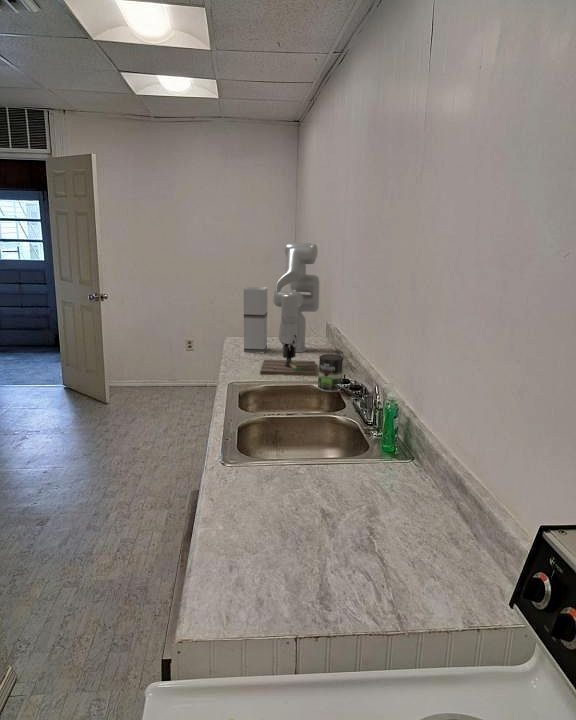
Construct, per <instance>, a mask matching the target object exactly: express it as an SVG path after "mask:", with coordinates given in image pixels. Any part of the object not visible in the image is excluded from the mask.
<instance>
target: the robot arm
mask: <svg viewBox="0 0 576 720" xmlns="http://www.w3.org/2000/svg"><path fill="white" fill-rule="evenodd" d="M318 252H319V251H318V246H317V244H315V243H312V242H311V243H309V242H307V243H304V242H289V243H286V244H285V246H284V253H285V257H286V262H285V263H286V264H285V272H284V274H283V275H282V276H281V277H280V278H279V279H278V280H277V281H276V283H275V286H274V290H273V291H274V292H273V305H275V306H276V307H279V308H281V314H280V315H281V319H280V320H281V321H280V324H279V331H278V332H279V333H278V341H279V342H280V343H281V345H282V348H283V347H288V346H289V350H288V358H291V359H293V358H295V357H294V349H295V347H296V353H303V352H308V349H309V348H308V347H307V346H306V325H307V323H306V322H307V321H306V317H305V315H303V313H302V312H304V313H315V312H317V311H318V310H319V307H320V280H319V276H317V275H315V274H307V265H314V264H315V263H316V260H317V258H318ZM287 285H290V290H291V291H283V290H282V288H284V287H285V286H287ZM302 293H303V294H302ZM306 293H310V294H306Z"/></svg>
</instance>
